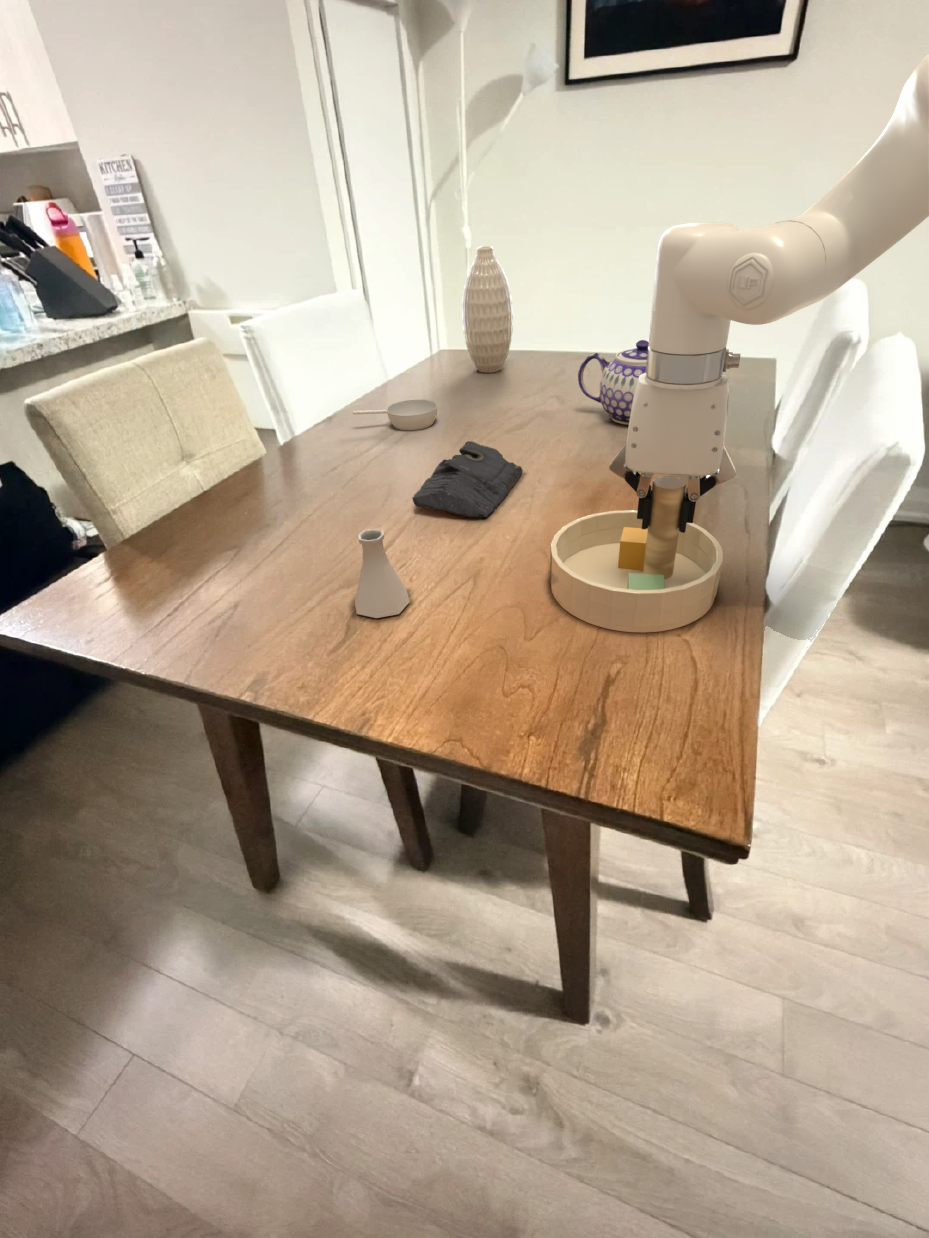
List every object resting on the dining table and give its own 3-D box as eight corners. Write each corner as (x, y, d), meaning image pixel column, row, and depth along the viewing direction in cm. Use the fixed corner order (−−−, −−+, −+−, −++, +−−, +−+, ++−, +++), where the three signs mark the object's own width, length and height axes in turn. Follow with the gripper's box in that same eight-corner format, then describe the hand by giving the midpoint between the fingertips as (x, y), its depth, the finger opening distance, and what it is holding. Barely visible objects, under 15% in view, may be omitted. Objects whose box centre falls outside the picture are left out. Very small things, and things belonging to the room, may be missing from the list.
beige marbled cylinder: (673, 566, 81) (686, 477, 74) (672, 581, 78) (685, 490, 71) (644, 563, 82) (654, 475, 75) (641, 578, 79) (651, 488, 72)
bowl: (716, 553, 87) (722, 517, 84) (714, 643, 72) (722, 603, 68) (566, 539, 93) (567, 504, 90) (534, 620, 77) (534, 581, 74)
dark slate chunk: (397, 513, 103) (393, 486, 101) (447, 461, 120) (445, 436, 117) (487, 523, 99) (486, 495, 96) (527, 468, 115) (526, 442, 112)
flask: (414, 588, 85) (405, 520, 79) (405, 620, 79) (394, 549, 73) (361, 588, 86) (348, 520, 80) (348, 619, 80) (333, 549, 74)
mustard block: (652, 556, 86) (655, 529, 84) (649, 571, 83) (652, 544, 81) (621, 553, 87) (623, 526, 85) (617, 567, 84) (620, 541, 82)
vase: (523, 367, 170) (522, 244, 153) (492, 379, 162) (487, 251, 146) (486, 361, 177) (482, 243, 161) (455, 372, 170) (447, 250, 153)
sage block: (660, 602, 77) (663, 574, 75) (661, 622, 74) (665, 593, 72) (625, 600, 78) (628, 572, 76) (625, 619, 75) (628, 591, 73)
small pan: (440, 429, 135) (439, 410, 132) (354, 438, 134) (351, 420, 131) (436, 413, 143) (434, 395, 141) (355, 421, 142) (352, 404, 140)
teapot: (564, 423, 133) (566, 346, 124) (590, 400, 143) (593, 328, 135) (688, 437, 122) (700, 354, 113) (706, 411, 133) (718, 334, 124)
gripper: (770, 356, 66) (737, 517, 77) (607, 355, 71) (597, 506, 82) (774, 377, 60) (739, 547, 71) (597, 374, 65) (588, 534, 76)
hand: (663, 524), depth 76 cm, fingers closed on beige marbled cylinder, 3 cm apart
